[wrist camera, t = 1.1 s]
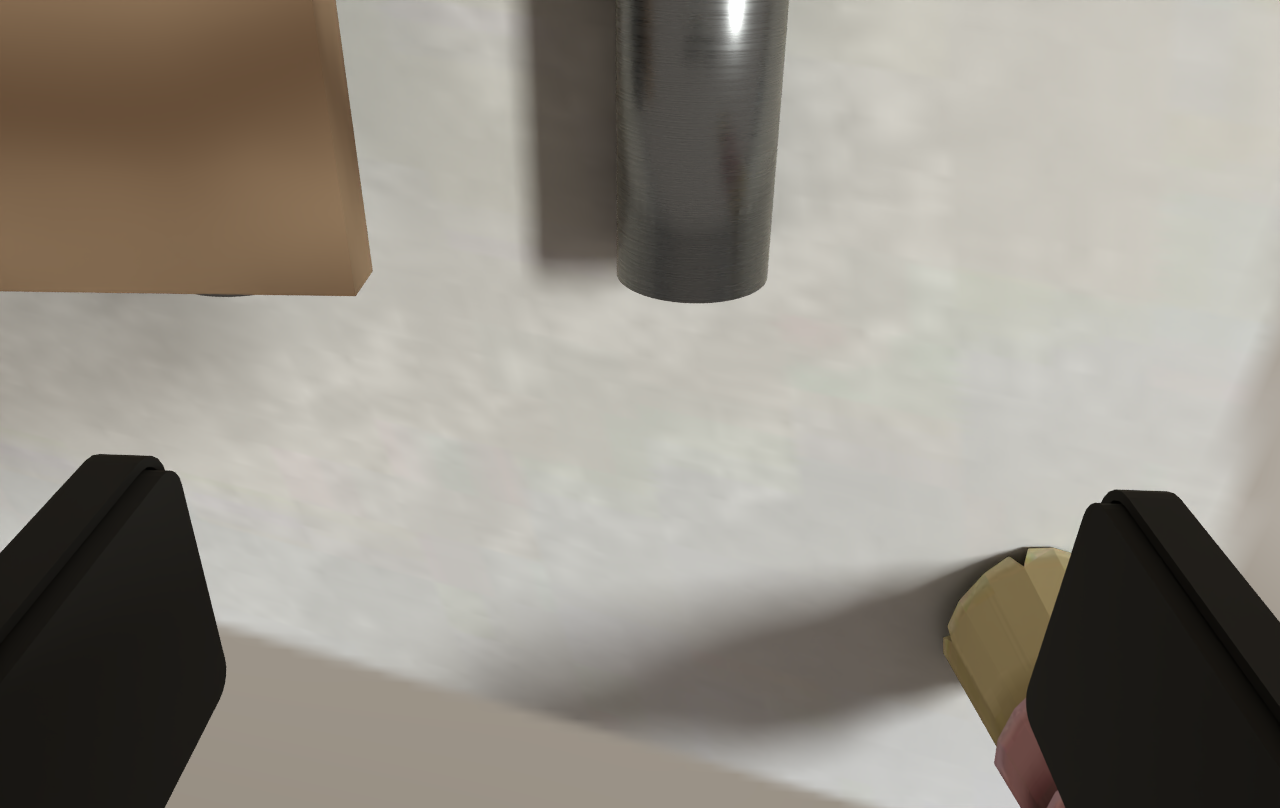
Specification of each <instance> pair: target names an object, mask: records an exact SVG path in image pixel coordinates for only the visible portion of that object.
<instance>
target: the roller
mask: <svg viewBox="0 0 1280 808" xmlns="http://www.w3.org/2000/svg"><path fill="white" fill-rule="evenodd" d="M788 6H789V0H616V138H617V276H618V279H619V280H620V282H621V283H622V284H623V285H625V286H626V287H627V288H629V289H630V290H632V291H634V292H637V293H639V294H642V295H644V296H647V297H651V298H655V299H659V300H664V301H671V302H680V303H714V302H723V301H729V300H734V299H738V298H741V297H744V296H747V295H750V294H752V293H754V292H756V291H757V290H759V289H760V288H761V287H762V286H763V285H764V284H765V282H766V280H767V273H768V260H769V247H770V235H771V222H772V209H773V197H774V184H775V171H776V158H777V146H778V133H779V120H780V108H781V95H782V82H783V69H784V57H785V44H786V31H787V19H788Z"/></svg>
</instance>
